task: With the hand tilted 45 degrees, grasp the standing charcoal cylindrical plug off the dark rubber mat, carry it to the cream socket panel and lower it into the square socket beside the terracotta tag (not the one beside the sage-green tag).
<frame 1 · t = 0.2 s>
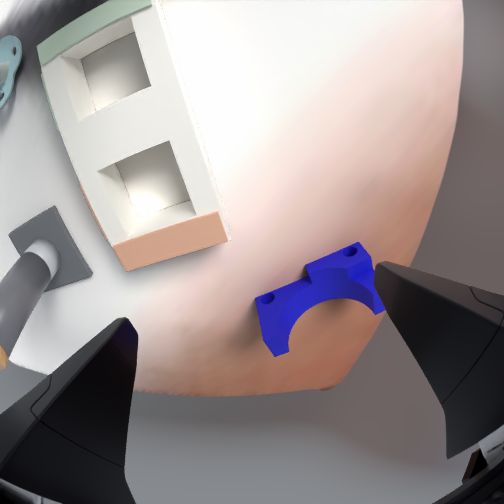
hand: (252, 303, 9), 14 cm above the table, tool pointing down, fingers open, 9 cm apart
pacifier: (6, 72, 12), on the table
plug: (45, 255, 21), point 1 cm above the table, touching mat
mat: (48, 251, 22), on the table
cable clip: (309, 278, 28), on the table
socket panel: (136, 126, 18), on the table
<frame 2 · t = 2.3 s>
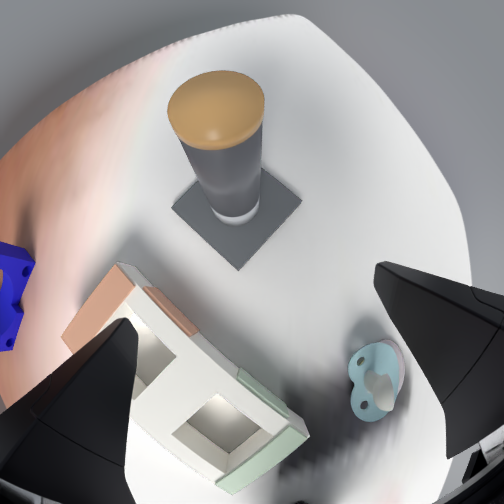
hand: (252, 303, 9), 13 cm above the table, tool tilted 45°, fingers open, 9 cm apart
pacifier: (374, 374, 21), on the table
plug: (235, 203, 23), point 1 cm above the table, touching mat
mat: (236, 205, 23), on the table
cable clip: (17, 301, 22), on the table
socket panel: (182, 382, 21), on the table
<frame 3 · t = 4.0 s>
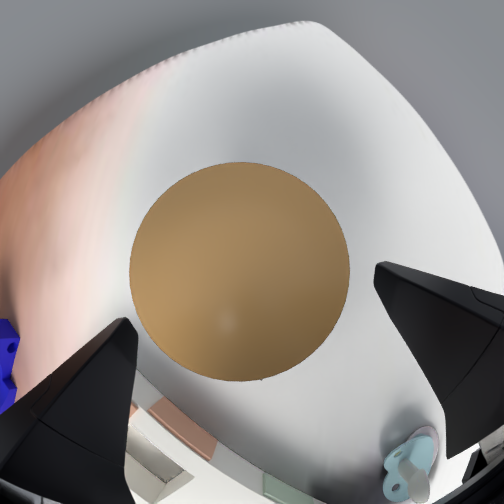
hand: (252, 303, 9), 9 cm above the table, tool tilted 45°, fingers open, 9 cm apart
pacifier: (407, 456, 15), on the table
plug: (255, 296, 17), point 1 cm above the table, touching mat
cable clip: (8, 373, 17), on the table
socket panel: (201, 482, 15), on the table
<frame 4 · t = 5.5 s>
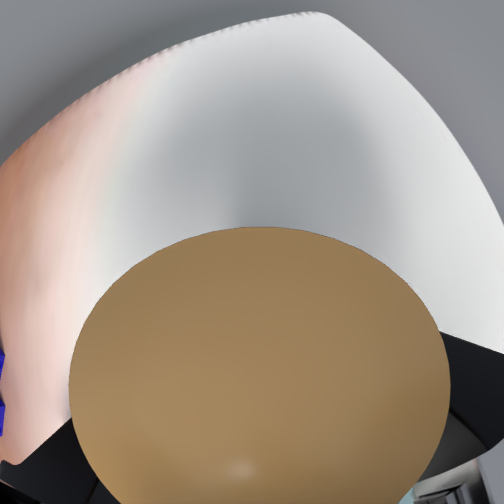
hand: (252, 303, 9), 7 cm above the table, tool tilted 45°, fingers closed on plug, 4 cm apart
pacifier: (421, 479, 12), on the table
plug: (261, 328, 15), point 1 cm above the table, touching gripper, mat
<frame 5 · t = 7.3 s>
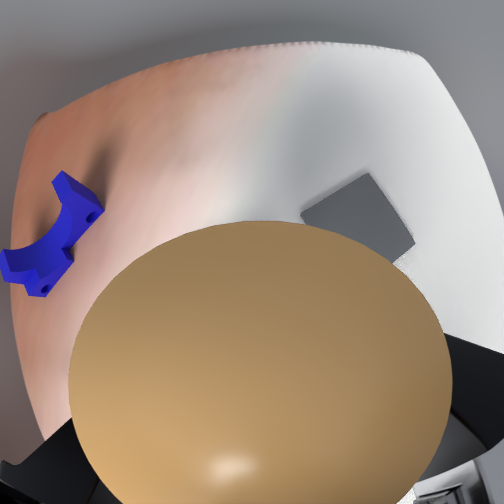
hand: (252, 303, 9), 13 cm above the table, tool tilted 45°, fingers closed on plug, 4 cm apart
plug: (261, 327, 15), point 7 cm above the table, touching gripper
mat: (360, 230, 23), on the table
cable clip: (68, 246, 24), on the table
when the fingers open (7 cm above the table, at t = 9.4 s): plug drops 1 cm, resting in socket panel.
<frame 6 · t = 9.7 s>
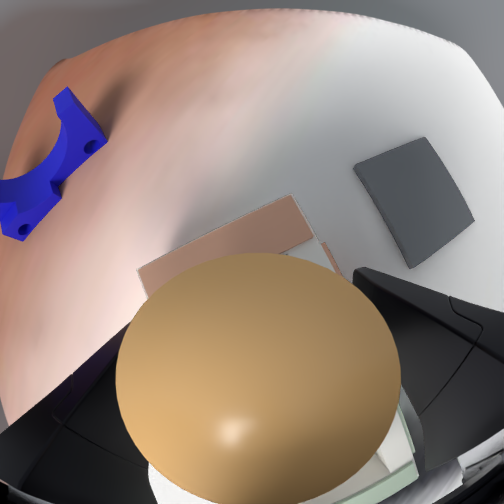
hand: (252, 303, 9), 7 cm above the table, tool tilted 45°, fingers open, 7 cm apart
plug: (261, 327, 16), resting in socket panel
mat: (419, 196, 17), on the table
cable clip: (58, 182, 19), on the table
socket panel: (293, 388, 15), on the table
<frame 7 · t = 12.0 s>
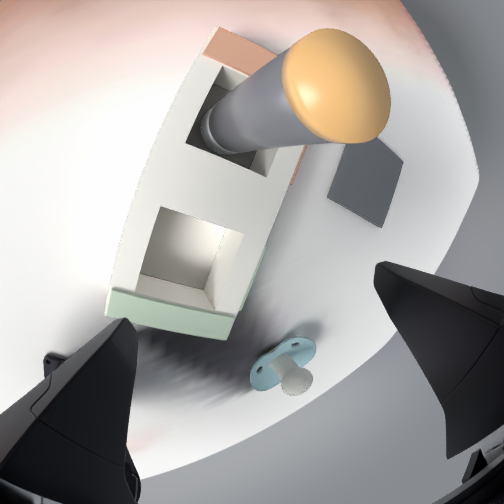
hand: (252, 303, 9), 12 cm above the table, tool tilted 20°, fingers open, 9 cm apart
pacifier: (277, 358, 27), on the table
plug: (227, 128, 18), resting in socket panel
mat: (368, 176, 24), on the table
socket panel: (204, 183, 19), on the table
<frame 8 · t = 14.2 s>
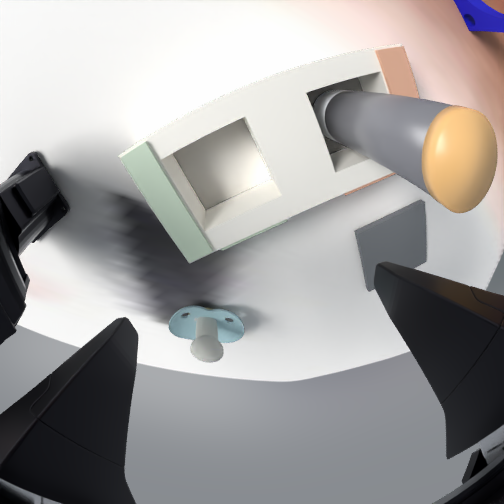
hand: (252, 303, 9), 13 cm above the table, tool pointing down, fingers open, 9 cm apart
pacifier: (205, 318, 28), on the table
plug: (337, 114, 18), resting in socket panel
mat: (394, 246, 25), on the table
socket panel: (284, 135, 18), on the table
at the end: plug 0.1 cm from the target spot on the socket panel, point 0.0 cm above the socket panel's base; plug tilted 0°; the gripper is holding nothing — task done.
